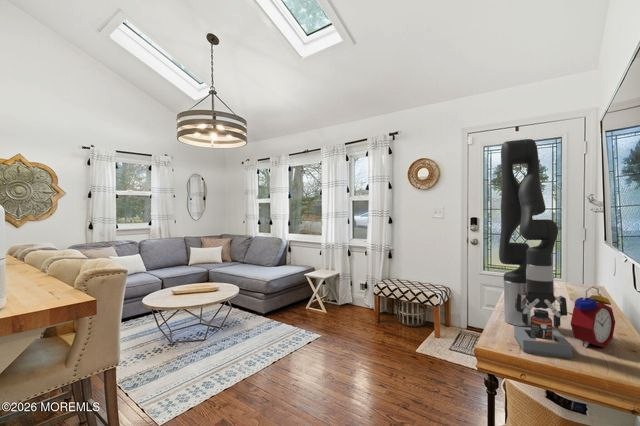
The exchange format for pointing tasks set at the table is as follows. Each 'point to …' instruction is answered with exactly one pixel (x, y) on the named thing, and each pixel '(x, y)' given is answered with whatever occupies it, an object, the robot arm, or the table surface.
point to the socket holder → (543, 343)
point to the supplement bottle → (541, 325)
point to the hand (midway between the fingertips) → (540, 325)
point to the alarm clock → (593, 320)
